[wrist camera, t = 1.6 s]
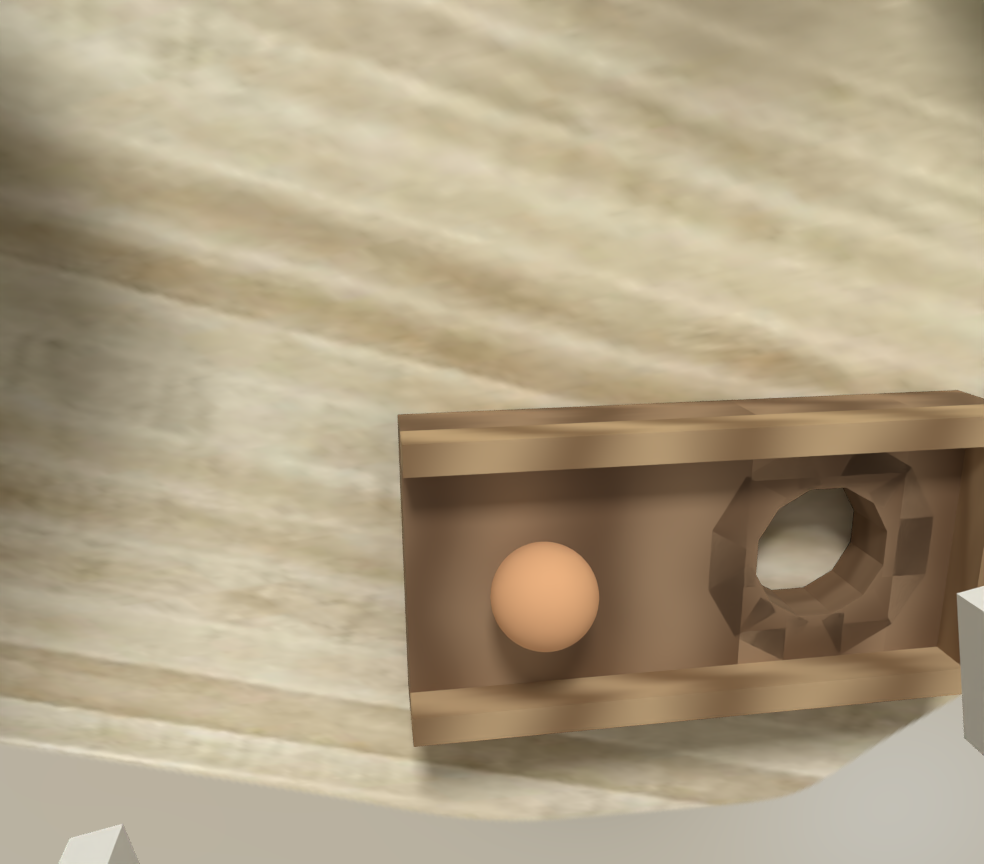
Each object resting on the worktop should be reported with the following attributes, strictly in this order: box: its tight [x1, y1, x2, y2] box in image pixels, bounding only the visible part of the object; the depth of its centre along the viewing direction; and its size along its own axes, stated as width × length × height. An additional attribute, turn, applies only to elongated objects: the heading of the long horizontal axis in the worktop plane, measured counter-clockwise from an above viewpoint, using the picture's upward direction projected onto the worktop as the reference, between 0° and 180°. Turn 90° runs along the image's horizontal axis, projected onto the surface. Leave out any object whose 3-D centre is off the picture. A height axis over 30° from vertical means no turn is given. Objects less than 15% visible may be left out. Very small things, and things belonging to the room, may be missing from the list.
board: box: [398, 390, 984, 747], centre depth 34 cm, size 24×12×4 cm, turn 91°
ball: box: [490, 542, 599, 652], centre depth 31 cm, size 4×4×4 cm
